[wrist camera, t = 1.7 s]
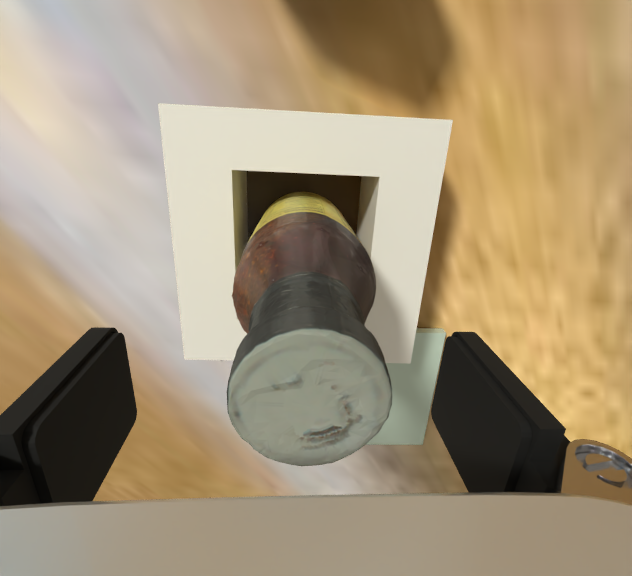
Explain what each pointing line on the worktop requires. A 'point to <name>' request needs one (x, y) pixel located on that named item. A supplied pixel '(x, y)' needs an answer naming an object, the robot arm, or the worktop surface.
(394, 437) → the pad
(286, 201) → the sauce bottle
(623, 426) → the worktop surface
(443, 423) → the robot arm
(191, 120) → the holder
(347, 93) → the worktop surface
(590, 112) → the worktop surface
